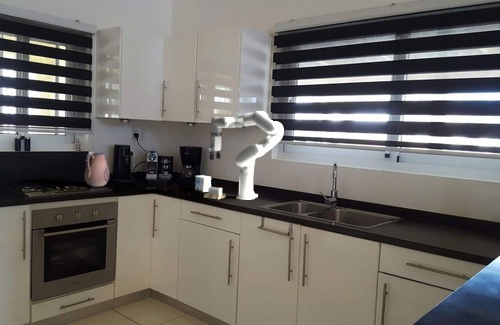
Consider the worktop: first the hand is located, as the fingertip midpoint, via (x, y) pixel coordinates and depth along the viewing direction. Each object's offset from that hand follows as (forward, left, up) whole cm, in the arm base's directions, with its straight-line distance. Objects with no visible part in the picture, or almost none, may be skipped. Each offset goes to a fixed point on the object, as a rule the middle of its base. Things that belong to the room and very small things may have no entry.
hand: (215, 159), depth 289 cm
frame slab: (-5, +8, -24) cm, 26 cm away
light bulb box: (+16, -10, -26) cm, 32 cm away
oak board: (-6, +8, -25) cm, 27 cm away
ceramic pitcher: (+88, +25, -26) cm, 95 cm away
